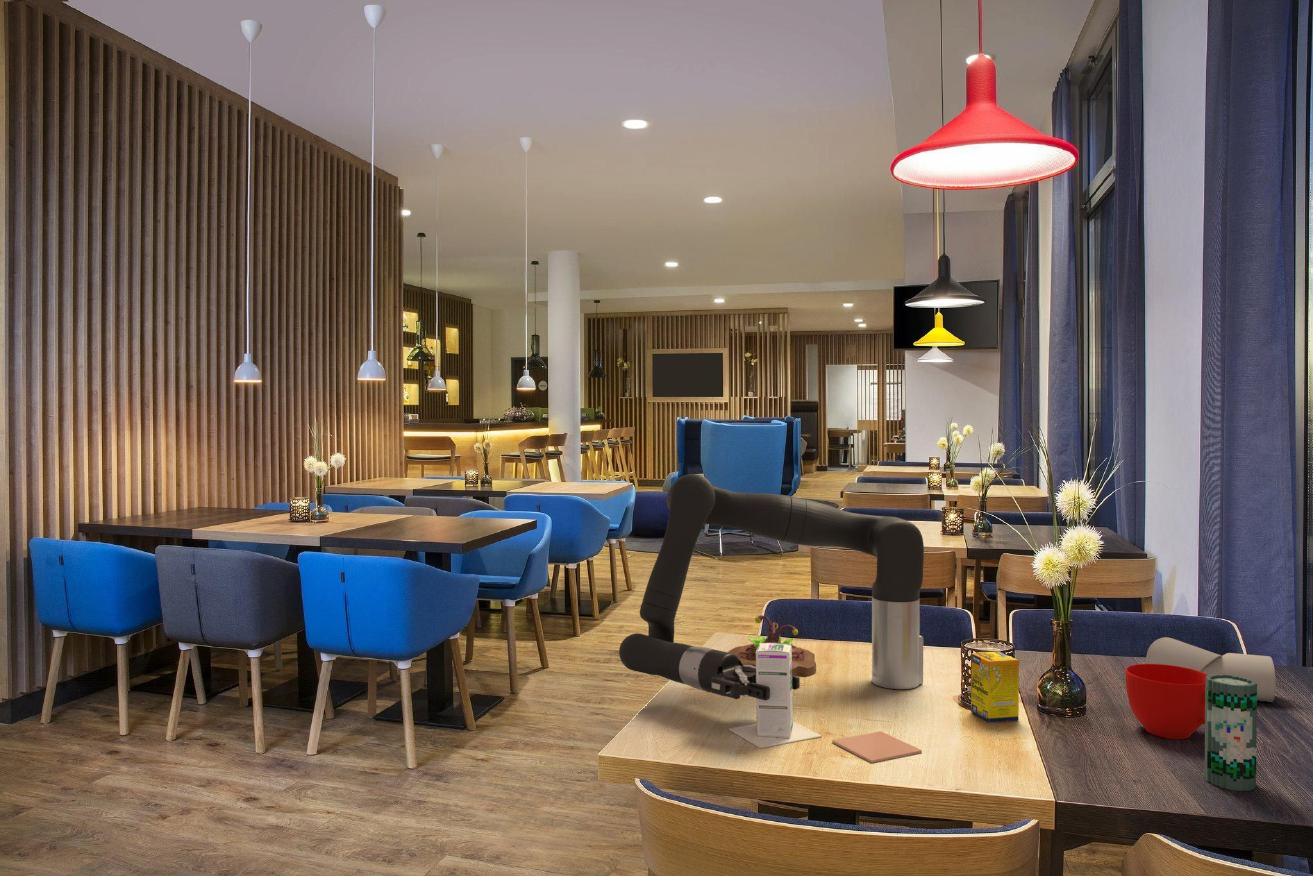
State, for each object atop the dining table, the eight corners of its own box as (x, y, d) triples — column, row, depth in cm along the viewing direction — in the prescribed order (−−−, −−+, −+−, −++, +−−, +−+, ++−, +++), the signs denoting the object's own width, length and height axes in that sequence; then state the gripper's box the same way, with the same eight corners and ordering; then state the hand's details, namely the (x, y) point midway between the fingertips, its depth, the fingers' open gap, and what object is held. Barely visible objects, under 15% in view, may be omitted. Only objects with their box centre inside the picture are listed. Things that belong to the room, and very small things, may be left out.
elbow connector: (1153, 691, 174) (1278, 704, 167) (1152, 635, 176) (1275, 644, 169) (1144, 687, 190) (1257, 698, 183) (1144, 635, 192) (1256, 644, 184)
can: (1210, 787, 132) (1211, 683, 131) (1201, 771, 137) (1202, 672, 137) (1259, 793, 130) (1260, 687, 129) (1248, 777, 135) (1250, 676, 135)
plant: (727, 653, 209) (727, 605, 209) (813, 656, 207) (814, 607, 207) (721, 677, 190) (721, 624, 189) (817, 681, 187) (817, 626, 187)
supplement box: (970, 712, 166) (970, 652, 165) (1000, 710, 167) (1000, 650, 167) (988, 723, 160) (988, 661, 160) (1019, 721, 161) (1019, 659, 161)
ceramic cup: (1205, 759, 143) (1206, 695, 142) (1108, 727, 158) (1108, 669, 157) (1254, 745, 149) (1255, 684, 148) (1155, 715, 164) (1156, 660, 163)
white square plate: (787, 719, 162) (787, 718, 162) (821, 737, 153) (821, 735, 153) (728, 729, 157) (728, 728, 157) (760, 748, 148) (760, 746, 148)
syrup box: (791, 738, 151) (791, 651, 151) (755, 736, 153) (755, 649, 152) (793, 727, 157) (793, 643, 157) (758, 725, 158) (758, 641, 158)
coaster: (880, 733, 155) (880, 731, 155) (921, 752, 146) (921, 750, 146) (832, 742, 150) (832, 740, 150) (871, 763, 141) (871, 760, 141)
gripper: (683, 656, 159) (757, 674, 148) (735, 642, 170) (808, 658, 158) (683, 699, 160) (757, 721, 148) (735, 682, 170) (808, 701, 159)
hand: (783, 688), depth 153 cm, fingers closed on syrup box, 8 cm apart
